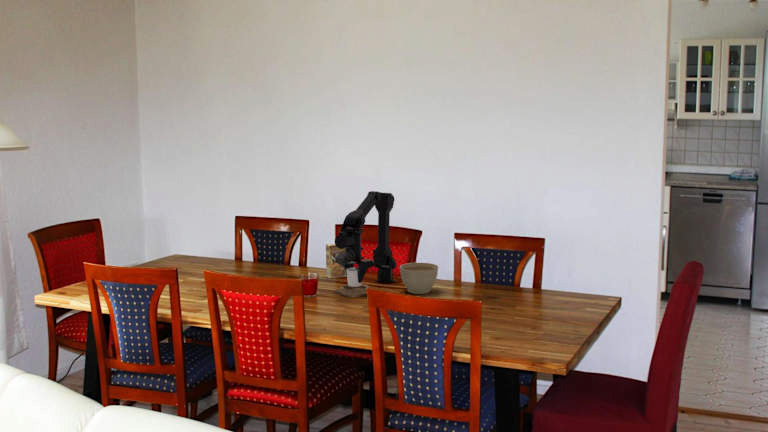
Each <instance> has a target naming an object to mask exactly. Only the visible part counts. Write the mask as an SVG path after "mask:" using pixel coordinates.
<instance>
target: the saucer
mask: <svg viewBox="0 0 768 432" xmlns="http://www.w3.org/2000/svg"><path fill="white" fill-rule="evenodd" d="M367 288H369V289H370V286H369V285H366V284H362V283H361V286H358V287H351V286H348V284H344V285H341V286H340V287H339V289H336V290H334V293H335V294H337V295H342V296H344V297H345V296H346V297H349V298H352V299H353V298H359V297H363V295H364V296H366V295H365V294H366V289H367Z"/></svg>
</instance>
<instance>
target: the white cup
mask: <svg viewBox="0 0 768 432" xmlns="http://www.w3.org/2000/svg"><path fill="white" fill-rule="evenodd" d="M357 267H358V266H357ZM357 267H356V266H355V267H352V268H347V269H346V271H347V277H346V279H347V285H348V286H351V287H358V286H361V284H362V282H361V283H359V282H358V271H357V270H356V269H355V268H357Z"/></svg>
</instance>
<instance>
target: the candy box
mask: <svg viewBox="0 0 768 432" xmlns="http://www.w3.org/2000/svg"><path fill="white" fill-rule="evenodd" d="M343 252H345V248H343V249H339V248H338V247H337V246H336V245H335V243H329V244H325V268H326V269H325V270H326V273H325V274H326V278H327V277H328V278H327V279H337V278H347V275H346V272H345V269H344V268H343V267H342V266H341V265H340V264H338V263H336V262H335V258H336V256H338V255H340V254H341V253H343Z"/></svg>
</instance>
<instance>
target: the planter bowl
mask: <svg viewBox="0 0 768 432" xmlns="http://www.w3.org/2000/svg"><path fill="white" fill-rule="evenodd" d="M399 271H400V277H401V280H402V283H403V285H404V286H405V288H406V289H407V292H408V293H410V294H414V295H422V294H429V293H430V292H431V290H432V288H433V286H434V285H435V283H436V280H437V277H438V273H439V266H438V265H437V264H434V263H430V262H409V263H404V264H401V265H400V266H399Z"/></svg>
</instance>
